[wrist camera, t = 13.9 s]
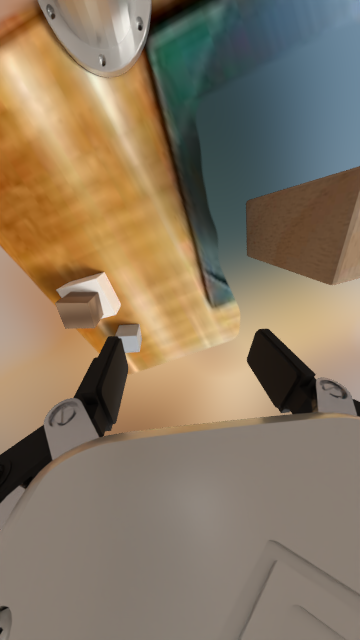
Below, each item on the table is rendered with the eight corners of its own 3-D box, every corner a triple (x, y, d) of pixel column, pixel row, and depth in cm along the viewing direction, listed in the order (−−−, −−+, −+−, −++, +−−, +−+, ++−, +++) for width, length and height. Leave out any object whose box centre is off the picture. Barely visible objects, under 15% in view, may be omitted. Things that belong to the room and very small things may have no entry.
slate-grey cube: (119, 325, 40) (114, 336, 35) (139, 324, 40) (136, 335, 36) (123, 340, 42) (118, 353, 38) (141, 339, 43) (139, 351, 38)
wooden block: (246, 256, 34) (331, 287, 17) (244, 201, 28) (367, 164, 12) (291, 243, 33) (426, 261, 16) (298, 184, 28) (509, 120, 11)
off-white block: (69, 281, 33) (55, 289, 29) (104, 271, 33) (96, 278, 28) (89, 313, 37) (80, 324, 33) (121, 304, 37) (116, 314, 33)
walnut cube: (70, 291, 29) (54, 303, 25) (98, 292, 30) (87, 303, 26) (78, 314, 32) (65, 328, 28) (103, 314, 32) (94, 328, 28)
